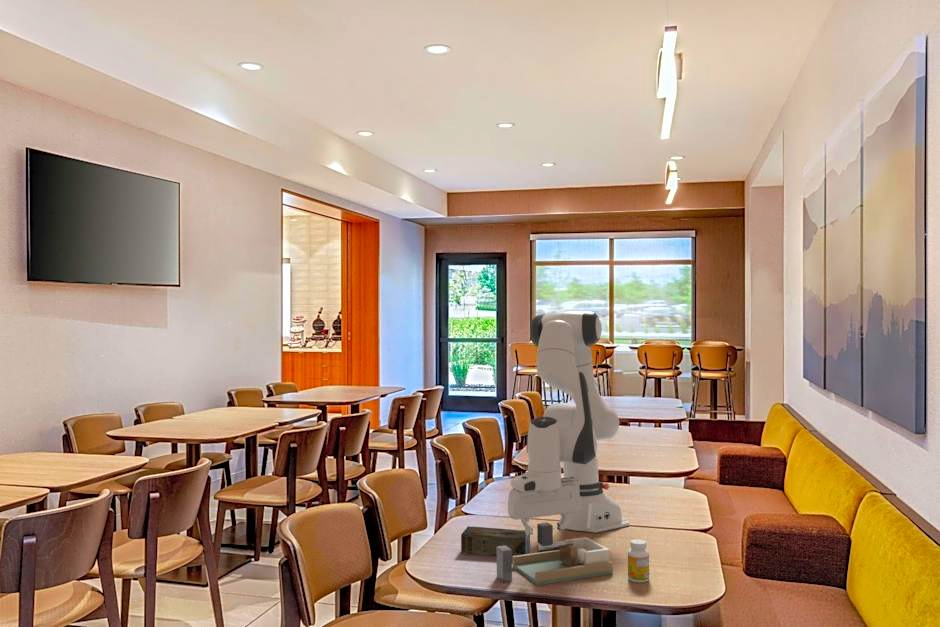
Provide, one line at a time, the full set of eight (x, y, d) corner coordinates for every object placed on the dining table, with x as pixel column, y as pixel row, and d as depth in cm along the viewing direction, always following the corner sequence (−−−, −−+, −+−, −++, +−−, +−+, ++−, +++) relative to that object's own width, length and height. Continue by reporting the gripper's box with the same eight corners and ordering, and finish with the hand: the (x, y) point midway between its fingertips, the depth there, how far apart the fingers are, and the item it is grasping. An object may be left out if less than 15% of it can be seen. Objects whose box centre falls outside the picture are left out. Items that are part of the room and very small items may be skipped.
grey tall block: (505, 575, 202) (505, 545, 202) (512, 580, 198) (511, 549, 198) (496, 577, 201) (496, 546, 201) (503, 582, 197) (502, 550, 197)
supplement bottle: (625, 576, 201) (625, 538, 201) (645, 575, 201) (645, 538, 201) (631, 583, 196) (631, 545, 195) (652, 582, 196) (651, 544, 196)
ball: (572, 546, 209) (571, 561, 209) (579, 551, 205) (578, 566, 205) (585, 546, 210) (584, 561, 210) (592, 550, 207) (591, 565, 207)
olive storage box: (526, 559, 215) (525, 536, 215) (459, 555, 220) (459, 532, 220) (530, 550, 223) (530, 528, 223) (466, 546, 228) (466, 524, 228)
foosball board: (584, 556, 217) (583, 535, 217) (612, 573, 203) (612, 551, 203) (512, 567, 209) (512, 545, 209) (537, 585, 195) (537, 561, 195)
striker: (566, 559, 209) (566, 518, 209) (577, 566, 204) (577, 524, 204) (533, 564, 206) (533, 522, 206) (543, 571, 200) (543, 528, 200)
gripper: (573, 473, 210) (574, 524, 211) (504, 481, 203) (505, 533, 203) (585, 478, 205) (585, 530, 205) (514, 486, 197) (515, 540, 197)
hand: (545, 531), depth 204 cm, fingers open, 8 cm apart
